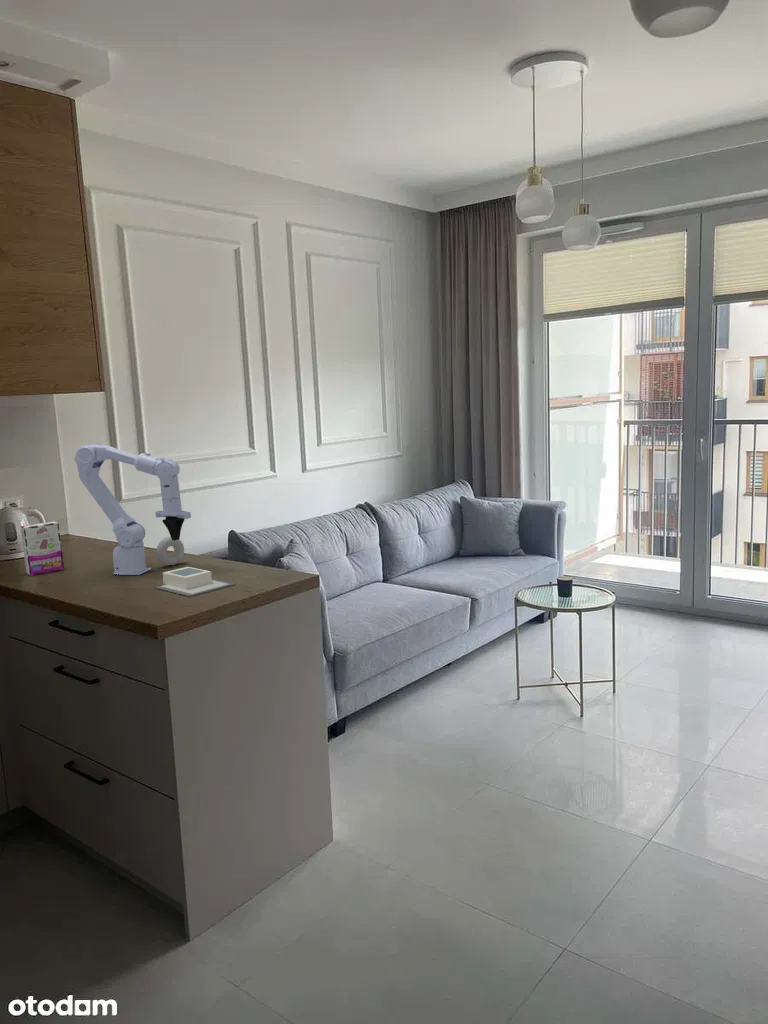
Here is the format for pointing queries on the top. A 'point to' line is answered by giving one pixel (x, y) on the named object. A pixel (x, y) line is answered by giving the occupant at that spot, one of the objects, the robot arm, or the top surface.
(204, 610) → the top surface
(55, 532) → the candy bar box
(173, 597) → the top surface
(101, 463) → the robot arm
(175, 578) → the card box
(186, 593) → the mat
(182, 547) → the donut
